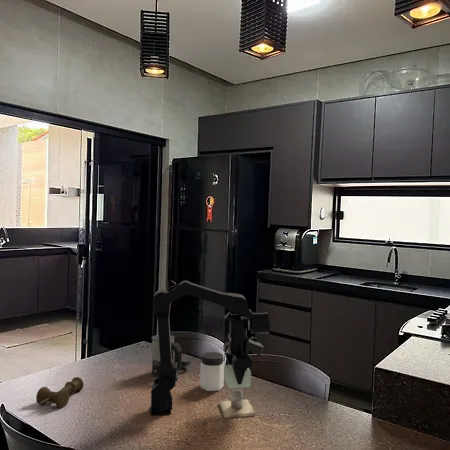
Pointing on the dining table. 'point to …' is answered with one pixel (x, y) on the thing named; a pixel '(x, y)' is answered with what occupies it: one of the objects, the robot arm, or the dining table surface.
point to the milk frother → (175, 350)
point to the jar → (212, 371)
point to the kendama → (59, 393)
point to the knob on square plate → (236, 406)
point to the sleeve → (231, 379)
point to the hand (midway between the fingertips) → (237, 379)
